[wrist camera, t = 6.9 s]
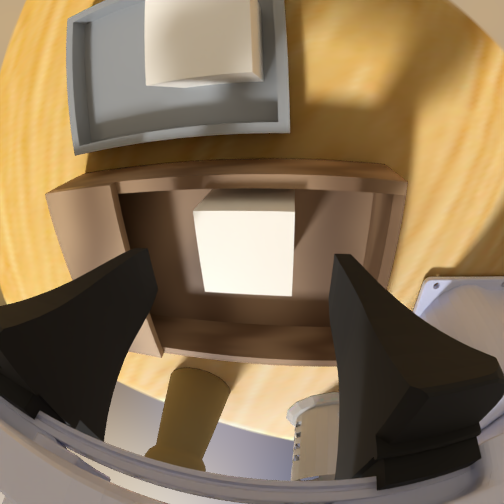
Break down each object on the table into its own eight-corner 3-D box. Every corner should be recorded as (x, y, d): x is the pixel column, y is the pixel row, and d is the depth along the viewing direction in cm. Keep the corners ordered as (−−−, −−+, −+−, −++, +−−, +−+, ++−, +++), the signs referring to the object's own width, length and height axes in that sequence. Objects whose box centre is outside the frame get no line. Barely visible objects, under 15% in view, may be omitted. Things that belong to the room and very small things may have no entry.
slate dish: (282, -25, 9) (280, -38, 7) (290, 130, 13) (289, 133, 12) (84, 22, 10) (67, 19, 9) (91, 149, 15) (75, 155, 13)
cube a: (181, 19, 10) (145, -2, 7) (261, 9, 10) (248, -22, 6) (183, 88, 12) (146, 85, 9) (263, 81, 12) (252, 72, 8)
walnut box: (384, 164, 13) (412, 185, 10) (355, 329, 19) (362, 372, 15) (84, 173, 16) (45, 193, 12) (125, 312, 21) (103, 345, 18)
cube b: (294, 183, 14) (294, 211, 11) (292, 252, 16) (291, 295, 12) (217, 183, 15) (192, 211, 11) (223, 249, 16) (205, 291, 13)
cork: (177, 359, 23) (135, 467, 14) (239, 384, 24) (215, 493, 14) (165, 386, 26) (131, 475, 17) (218, 407, 27) (195, 497, 17)
